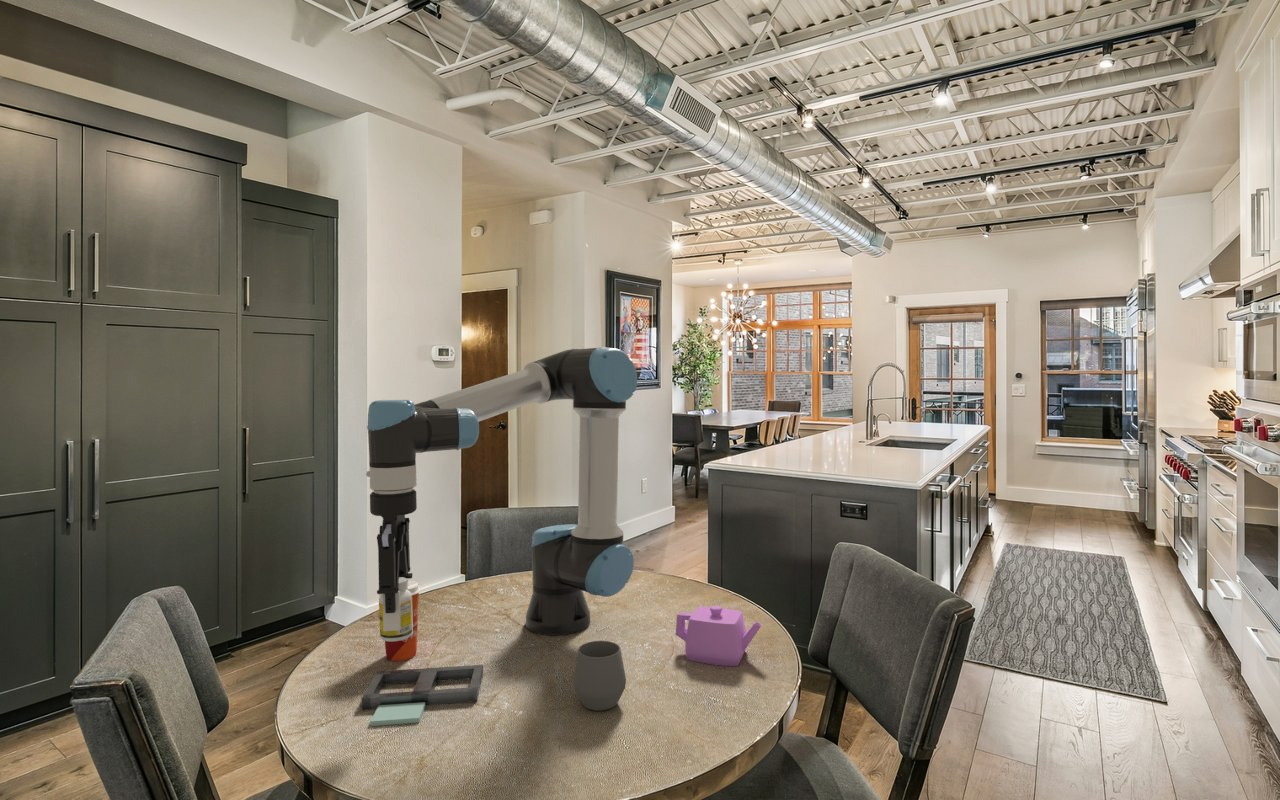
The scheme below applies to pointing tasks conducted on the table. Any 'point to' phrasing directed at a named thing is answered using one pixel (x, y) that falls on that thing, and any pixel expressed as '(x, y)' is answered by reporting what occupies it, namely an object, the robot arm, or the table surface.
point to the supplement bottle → (405, 615)
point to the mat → (398, 714)
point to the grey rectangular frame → (424, 686)
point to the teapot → (715, 635)
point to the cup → (599, 675)
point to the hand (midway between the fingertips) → (396, 623)
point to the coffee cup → (409, 646)
